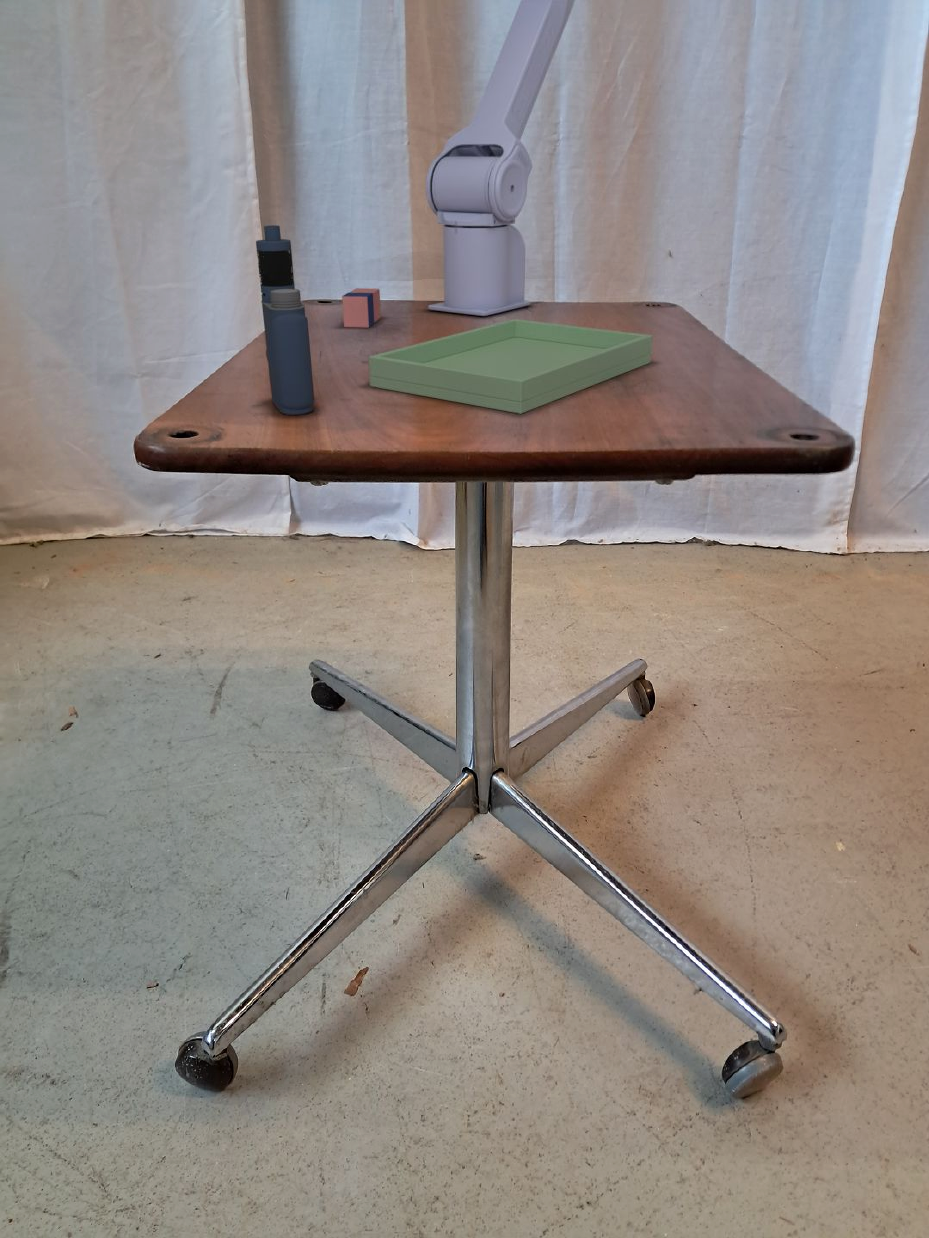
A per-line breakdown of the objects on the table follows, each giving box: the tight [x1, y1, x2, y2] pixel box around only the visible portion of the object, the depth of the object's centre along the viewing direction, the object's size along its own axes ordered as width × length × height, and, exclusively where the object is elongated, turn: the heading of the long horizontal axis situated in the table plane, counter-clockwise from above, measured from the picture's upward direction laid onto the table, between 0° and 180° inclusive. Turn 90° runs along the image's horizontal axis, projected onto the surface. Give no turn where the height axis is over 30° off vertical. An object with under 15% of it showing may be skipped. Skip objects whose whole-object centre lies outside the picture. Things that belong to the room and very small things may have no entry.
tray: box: [368, 318, 653, 415], centre depth 75 cm, size 20×14×2 cm
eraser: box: [341, 287, 382, 329], centre depth 96 cm, size 6×3×3 cm, turn 172°
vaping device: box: [255, 224, 315, 416], centre depth 64 cm, size 3×5×12 cm, turn 21°
